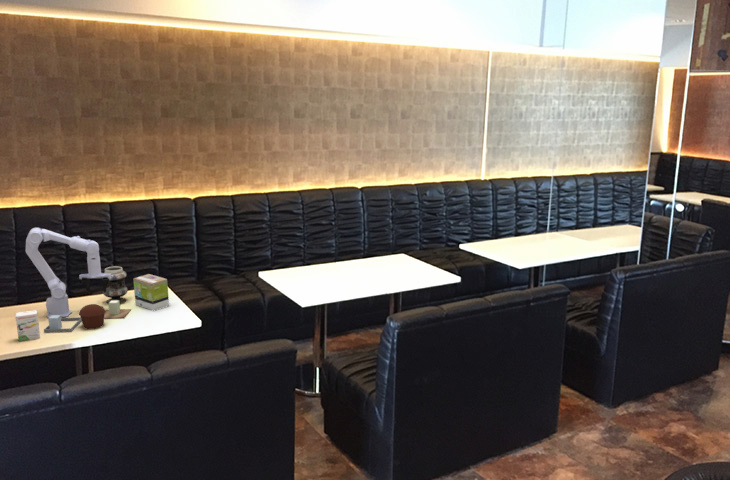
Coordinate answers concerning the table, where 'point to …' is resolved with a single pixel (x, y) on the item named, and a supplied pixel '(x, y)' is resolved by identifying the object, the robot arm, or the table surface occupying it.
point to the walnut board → (121, 315)
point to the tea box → (151, 292)
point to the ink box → (27, 325)
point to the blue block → (55, 322)
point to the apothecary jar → (116, 284)
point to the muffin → (92, 316)
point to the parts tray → (48, 330)
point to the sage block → (114, 307)
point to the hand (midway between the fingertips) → (96, 292)
